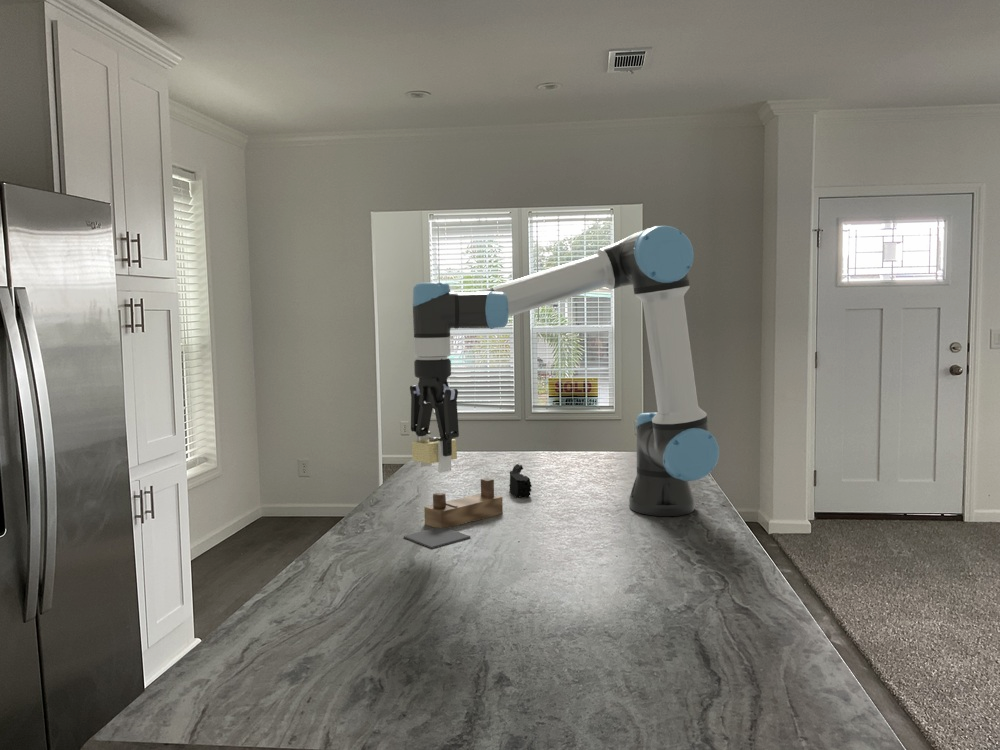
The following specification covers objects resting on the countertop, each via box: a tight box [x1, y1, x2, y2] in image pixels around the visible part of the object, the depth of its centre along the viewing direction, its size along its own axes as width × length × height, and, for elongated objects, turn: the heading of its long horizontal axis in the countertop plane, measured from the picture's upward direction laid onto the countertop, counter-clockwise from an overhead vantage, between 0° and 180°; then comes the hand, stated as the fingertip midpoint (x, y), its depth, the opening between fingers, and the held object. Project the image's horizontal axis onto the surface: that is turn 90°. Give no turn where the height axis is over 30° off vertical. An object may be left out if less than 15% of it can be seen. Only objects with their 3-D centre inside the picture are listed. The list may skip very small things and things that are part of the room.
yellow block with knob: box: [411, 436, 458, 464], centre depth 154 cm, size 7×6×5 cm
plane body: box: [423, 477, 504, 529], centre depth 169 cm, size 18×6×8 cm, turn 131°
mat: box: [403, 527, 471, 549], centre depth 156 cm, size 10×10×1 cm
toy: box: [508, 463, 532, 499], centre depth 194 cm, size 15×5×7 cm, turn 7°
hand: (434, 468), depth 154 cm, fingers closed on yellow block with knob, 6 cm apart
